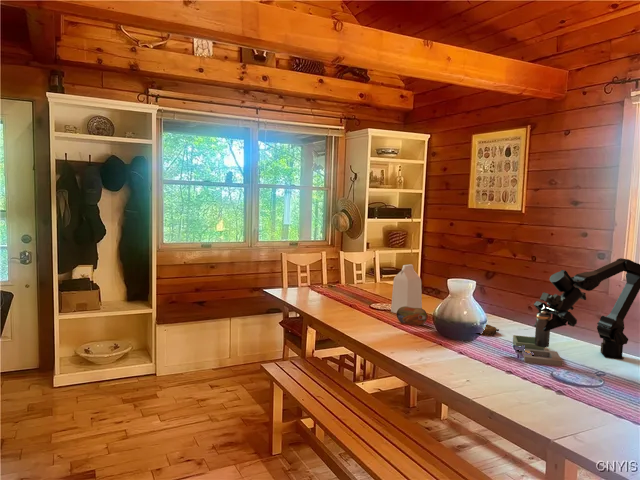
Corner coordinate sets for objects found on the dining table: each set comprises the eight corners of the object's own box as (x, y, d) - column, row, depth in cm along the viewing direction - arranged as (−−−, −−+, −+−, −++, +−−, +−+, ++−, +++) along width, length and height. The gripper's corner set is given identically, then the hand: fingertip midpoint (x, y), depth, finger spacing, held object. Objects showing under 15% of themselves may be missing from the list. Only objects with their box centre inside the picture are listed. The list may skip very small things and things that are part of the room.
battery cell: (547, 343, 176) (549, 310, 174) (550, 347, 171) (552, 313, 169) (533, 342, 177) (535, 309, 176) (535, 346, 172) (537, 312, 171)
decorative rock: (461, 329, 216) (482, 339, 202) (461, 320, 215) (483, 330, 201) (480, 325, 220) (502, 335, 206) (480, 317, 219) (502, 326, 206)
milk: (406, 316, 235) (408, 267, 232) (390, 311, 244) (392, 264, 242) (422, 313, 242) (423, 265, 239) (406, 308, 251) (407, 262, 249)
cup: (539, 345, 191) (540, 337, 190) (544, 353, 181) (544, 345, 180) (512, 342, 194) (513, 335, 194) (515, 350, 184) (516, 342, 183)
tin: (396, 322, 224) (396, 305, 223) (398, 320, 226) (398, 304, 226) (426, 326, 217) (426, 309, 216) (427, 325, 219) (428, 308, 219)
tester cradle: (556, 356, 178) (556, 350, 178) (562, 366, 167) (562, 360, 167) (520, 352, 182) (521, 346, 181) (524, 362, 171) (525, 356, 171)
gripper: (539, 281, 181) (512, 308, 181) (572, 290, 163) (542, 321, 162) (555, 299, 183) (529, 327, 183) (589, 311, 165) (560, 341, 164)
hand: (539, 328), depth 173 cm, fingers closed on battery cell, 5 cm apart
